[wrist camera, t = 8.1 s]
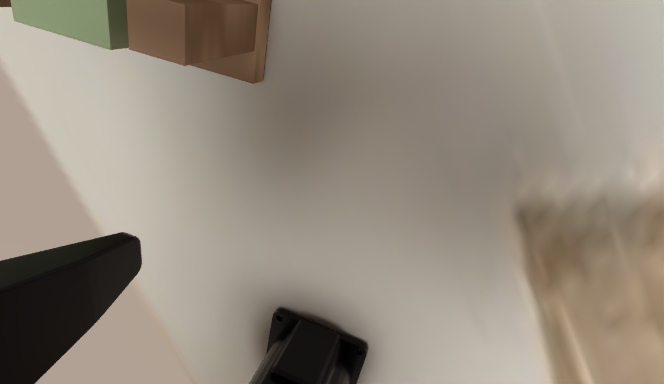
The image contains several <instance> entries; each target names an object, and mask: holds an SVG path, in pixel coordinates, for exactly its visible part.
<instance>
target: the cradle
mask: <svg viewBox="0 0 664 384" xmlns="http://www.w3.org/2000/svg"><path fill="white" fill-rule="evenodd" d="M126 4H127V21H128V38H129V49H130V50H133V51H136V52H140V53H143V54H147V55H150V56H153V57H157V58H160V59H163V60H167V61H170V62H174V63H177V64H180V65H184V66H186V65H191V66H195V67H198V68H202V69H205V70H208V71H212V72H215V73H219V74H222V75H225V76H229V77H232V78H236V79H239V80H242V81H246V82H249V83H253V84H254V83H256V82H259V81H262V80H263V75H264V65H265V56H266V46H267V36H268V27H269V17H270V7H271V0H126ZM0 7H12V6H11V1H10V0H0Z"/></svg>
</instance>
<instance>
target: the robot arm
mask: <svg viewBox="0 0 664 384" xmlns="http://www.w3.org/2000/svg"><path fill="white" fill-rule="evenodd" d="M141 265H142V258H141V244H140V240H139V238H137V237H136V236H133V235H131V234H128V233H124V232H121V233H117V234H112V235H108V236H104V237H100V238H95V239H92V240H87V241H83V242H78V243H74V244H70V245H66V246H61V247H57V248H53V249H49V250H44V251H40V252H36V253H32V254H28V255H23V256H19V257H15V258H10V259H6V260H2V261H0V384H35V383H36V382H37V381H38V380H39V379H40V377H41V376H43V374H45V373H46V372H47V371H48V370H49V369H50V368H51V367H52V366H53V365H54V364H55V363H56V362H57V361H58V360H59V359H60V358H61V357H62V356H63V355H64V354H65V353H66V352H67V351H68V350H69V349H70V348H71V347H72V346H73V345H74V344H75V343H76V342H77V341H78V340H79V339H80V338H81V337H82V336H83V335H84V334H85V333H86V332H87V331H88V330H89V329H90V328H91V327H92V326H93V325H94V324H95V323H96V322H97V321H98V320H99V319H100V317H101V316H102V315H103V314H104V313H105V312H106V310H107V309H108V308H109V307H110V306H111V305H112V303H113V302H114V301H115V300H116V299H117V297H118V296H119V295H120V294H121V293H122V291H123V290H124V289H125V288H126V287H127V286H128V284H129V283H130V282H131V281H132V280H133V278H134V277H135V276H136V275H137V274H138V272H139V270H140V268H141ZM359 349H360V350H359ZM367 352H368V347H367V345H366V344H365V343H363V342H361V341H359V340H356V339H354V338H352V337H349V336H347V335H344V334H342V333H340V332H337V331H335V330H332V329H330V328H328V327H325V326H323V325H320V324H318V323H316V322H313V321H311V320H308V319H306V318H304V317H301V316H299V315H296V314H294V313H292V312H289V311H287V310H284V309H281V308H279V309H277V310H276V311H275V313H274V314H273V318H272V324H271V330H270V336H269V342H268V348H267V354H266V357H265V358H264V360H263V362H262V363H261V365H260V366H259V368H258V370H257V371H256V373H255V375H254V376H253V378H252V379H251V381H250V383H249V384H356V383H357V381H358V378H359V375H360V372H361V369H362V366H363V363H364V361H365V358H366V355H367Z"/></svg>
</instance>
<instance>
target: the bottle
mask: <svg viewBox="0 0 664 384" xmlns="http://www.w3.org/2000/svg"><path fill="white" fill-rule="evenodd" d="M10 1H11V6H12V11H13V17H14V21H16V22H19V23H23V24H26V25H29V26H33V27H36V28H39V29H43V30H46V31H49V32H53V33H56V34H59V35H63V36H66V37H69V38H73V39H76V40H79V41H83V42H86V43H89V44H93V45H96V46H99V47H103V48H106V49H109V50H114V49H122V48H129V38H128V21H127V4H126V0H10Z"/></svg>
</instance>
